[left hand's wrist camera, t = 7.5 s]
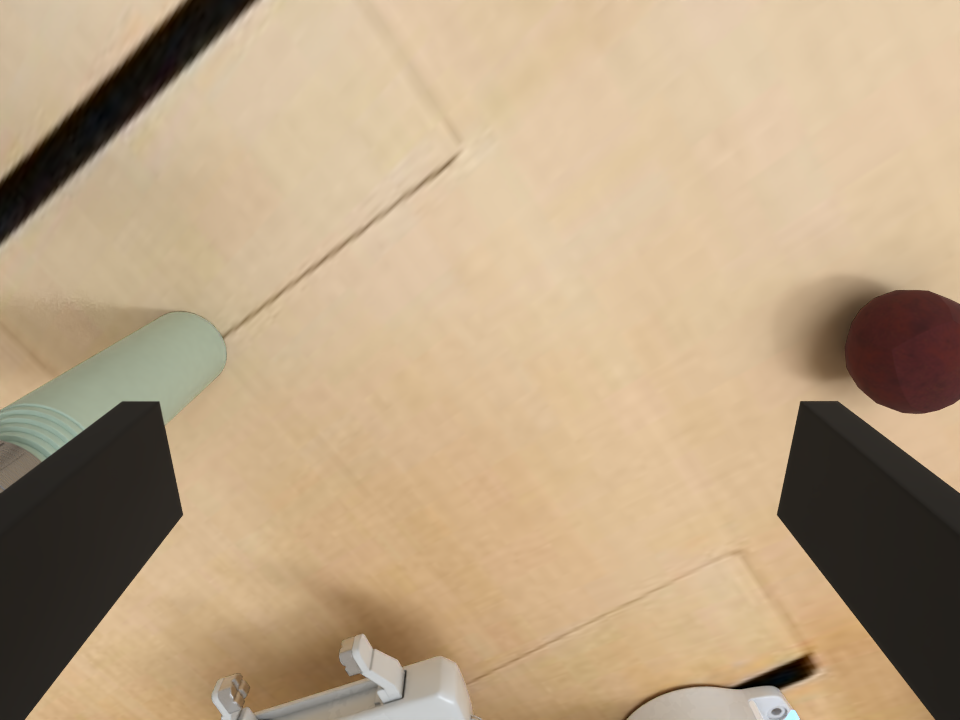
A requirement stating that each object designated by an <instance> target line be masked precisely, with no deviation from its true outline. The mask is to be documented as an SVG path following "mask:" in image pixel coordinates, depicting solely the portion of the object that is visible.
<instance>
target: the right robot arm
mask: <svg viewBox="0 0 960 720" xmlns="http://www.w3.org/2000/svg"><path fill="white" fill-rule="evenodd" d="M341 645H342V648H341V649H340V651H339V659H340V662H341V664H342V665H343V666H346V668H345V670H346V672H347V673H348V675H349V676H353V675H356V674H360V673H361V674H362V675H363V676H365V677H366V678H365V679H361V680H358V681H355V682H352V683H348V684H345V685H342V686H339V687H335V688H332V689H329V690H326V691H323V692H319V693H316V694H313V695H310V696H306V697H303V698H300V699H297V700H293V701H290V702H287V703H284V704H280V705H277V706H274V707H271V708H267V709H264V710H261V711H258V712H254V713H253V712H252V711H251V709H250V708H249V707H246V708H243V709H242V707H243V705H244V702H245V700H244V699H245V697H246V696H247V695H248V692H249V689H250V686H249V685H248V684H247V682H246V681H245V680H242V677H243V676H242V675H241V674H239V673H237V674H233V675H230V676H227V677H224V678H221V679H219V680H218V681H217V683H216V685H215V687H214V690H213V692H212V697H211V699H212V702H213V703H214V705H215V706H216V707H217V709H218V710H219V711H220V713H221V714H222V716H221V720H482V719H481V718H480V717H478V716H475V715H473V709H472V704H471V700H470V696H469V693H468V689H467V686H466V684H465V681H464V678H463V676H462V674H461V671H460V669H459V667H458V665H457V664H456V662H454V661H452V660H450V659H448V658H446V657H443V656H436V657H433V658H429V659H426V660H423V661H420V662H417V663H413V664H410V665H407V666H404V667H402V666H401V664H400V663H399V661H398V660H397V659H395V658H393V657H391V656H389V655H387V654H385V653H383V652H381V651H379V650H377V649H373V648H372V646H371V645H370V643H369V641H368V640H367V638H366V636H365V635H364V634H363V633H362V634H359V635H356V636H353V637H350V638H347V639H345V640H342V643H341ZM626 720H801V719H800V718H799V716H798V715H797V714H796V712H795V711H794V709H793V708H792V707H791V705H790V704H789V702H788V701H787V699H786V698H785V697H784V695H783V694H782V692H781V691H780V690H779V689H778V688H777V687H774V686H759V687H752V688H746V689H728V688H720V687H691V688H684V689H679V690H675V691H672V692H669V693H666V694H663V695H661V696H658V697H656V698H654V699H652V700H650V701H649V702H647V703H645V704H644V705H642V706H641V707H639V708H638V709H637V710H636V711H634V712H633V713H632V714H631V715H630V716H629V717H628V718H627V719H626Z"/></svg>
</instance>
